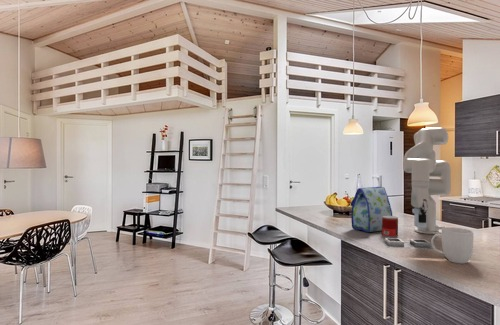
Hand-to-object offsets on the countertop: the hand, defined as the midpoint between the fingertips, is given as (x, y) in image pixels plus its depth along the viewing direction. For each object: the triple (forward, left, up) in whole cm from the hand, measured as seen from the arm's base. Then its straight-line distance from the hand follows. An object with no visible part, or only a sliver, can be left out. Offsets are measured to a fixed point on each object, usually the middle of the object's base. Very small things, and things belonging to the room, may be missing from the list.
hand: (420, 221), depth 146 cm
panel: (+6, +1, -13) cm, 14 cm away
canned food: (+8, -19, -13) cm, 25 cm away
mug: (-6, +20, -13) cm, 24 cm away
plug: (0, 0, -3) cm, 3 cm away
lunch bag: (+14, -36, -13) cm, 41 cm away
